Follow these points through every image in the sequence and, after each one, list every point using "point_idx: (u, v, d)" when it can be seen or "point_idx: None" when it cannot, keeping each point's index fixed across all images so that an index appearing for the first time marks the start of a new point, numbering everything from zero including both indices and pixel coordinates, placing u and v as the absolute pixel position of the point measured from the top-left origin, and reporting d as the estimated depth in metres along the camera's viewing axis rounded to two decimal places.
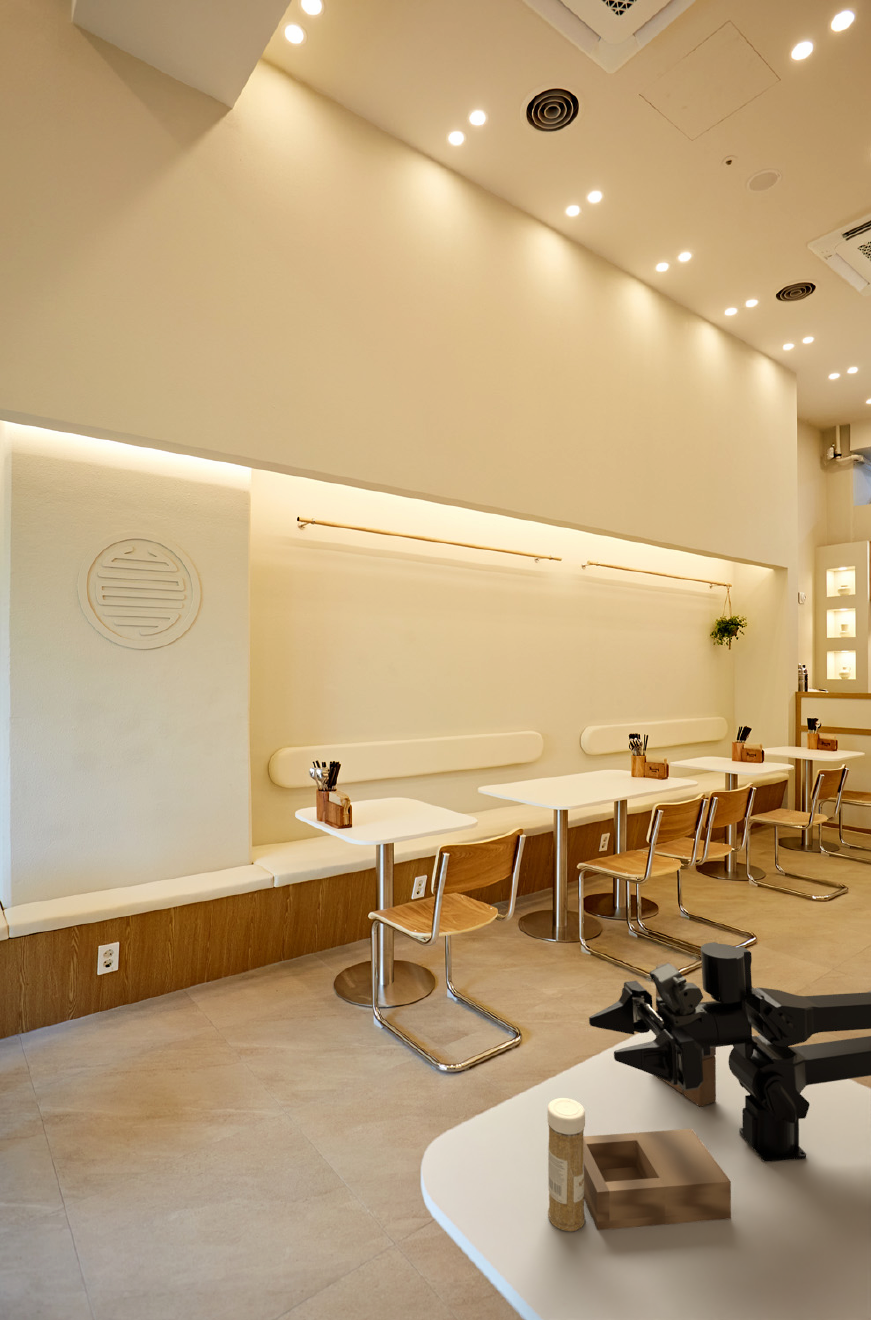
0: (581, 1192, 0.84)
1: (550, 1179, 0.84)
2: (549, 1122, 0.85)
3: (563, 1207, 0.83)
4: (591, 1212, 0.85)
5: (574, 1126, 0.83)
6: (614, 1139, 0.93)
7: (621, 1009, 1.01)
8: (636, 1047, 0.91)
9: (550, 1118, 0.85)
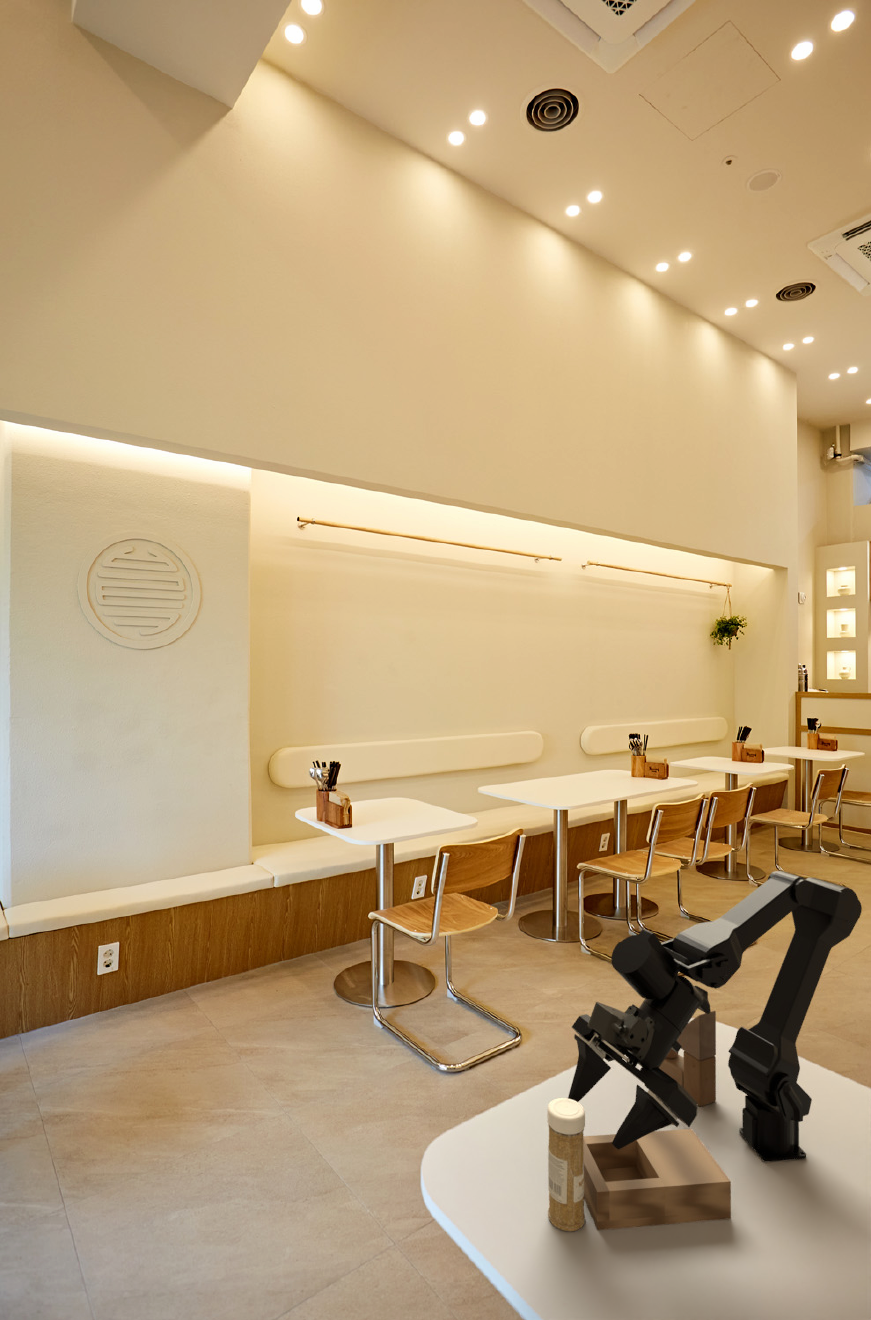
0: (581, 1192, 0.84)
1: (550, 1179, 0.84)
2: (549, 1122, 0.85)
3: (563, 1207, 0.83)
4: (591, 1212, 0.85)
5: (574, 1126, 0.83)
6: None
7: (586, 1064, 0.92)
8: (626, 1123, 0.82)
9: (550, 1118, 0.85)
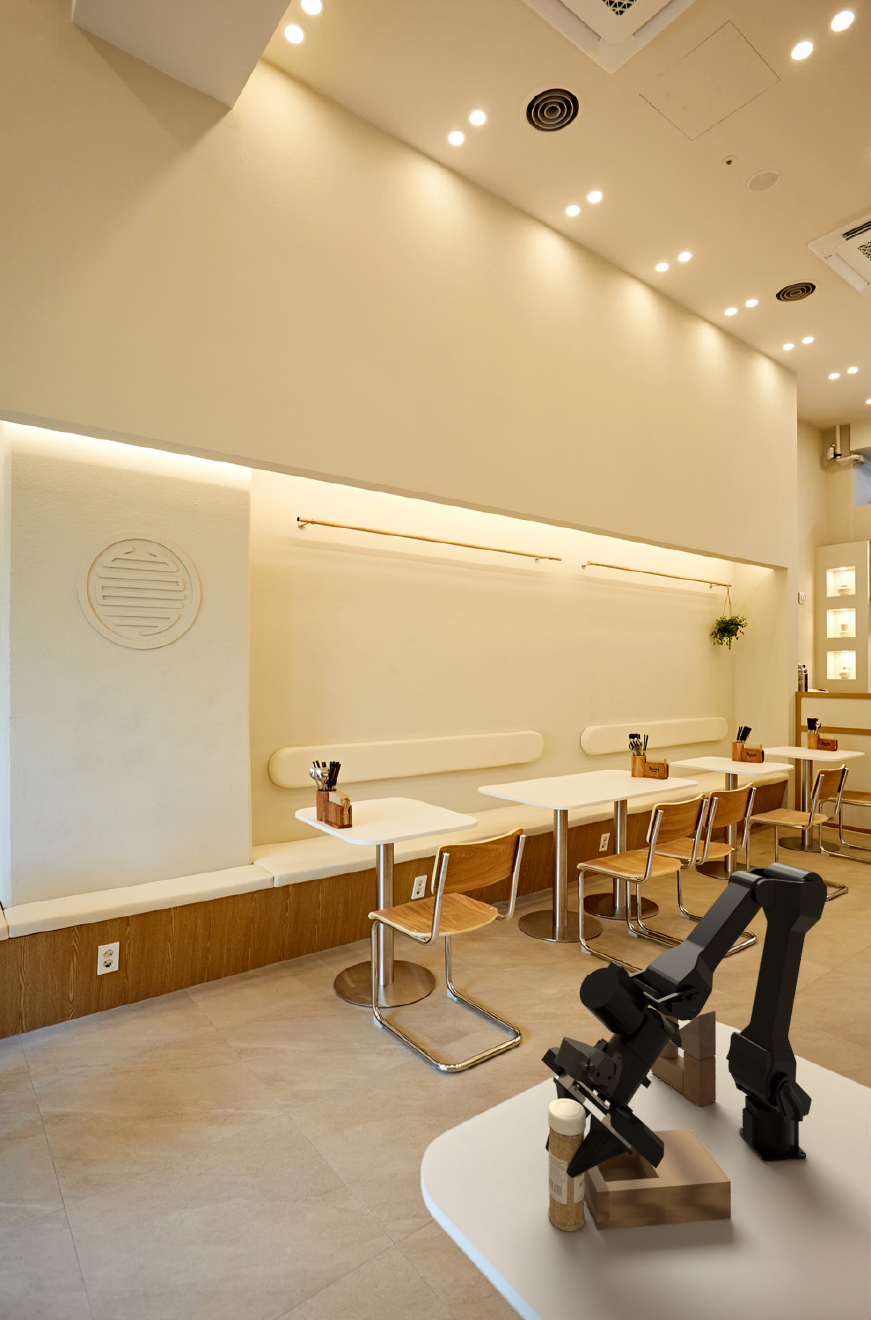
0: (581, 1192, 0.83)
1: (550, 1179, 0.84)
2: (550, 1123, 0.84)
3: (563, 1207, 0.83)
4: (591, 1212, 0.85)
5: (575, 1127, 0.83)
6: None
7: None
8: (580, 1152, 0.82)
9: (551, 1119, 0.84)
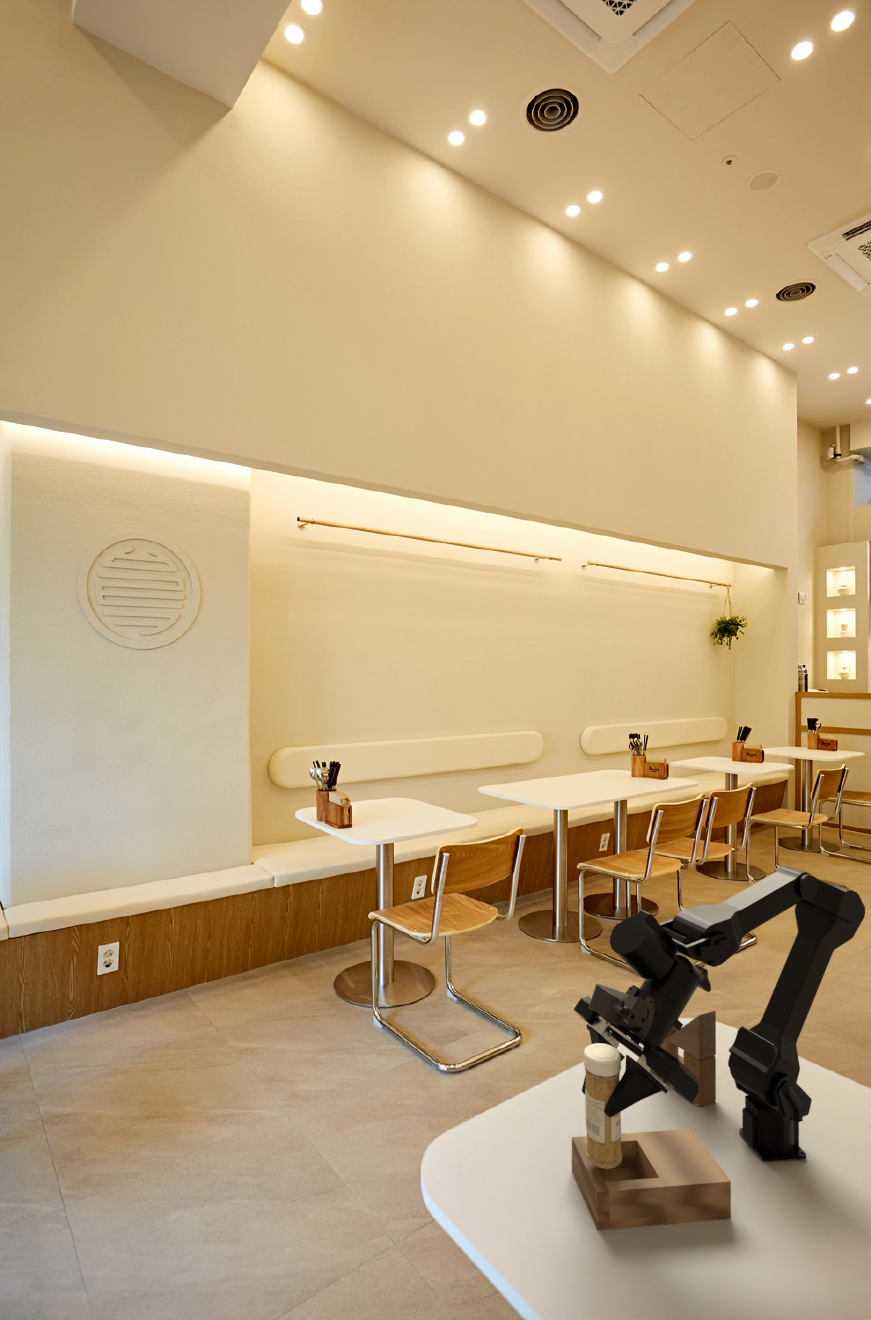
0: (618, 1132, 0.86)
1: (588, 1120, 0.87)
2: (586, 1066, 0.87)
3: (601, 1146, 0.86)
4: (591, 1212, 0.85)
5: (611, 1069, 0.86)
6: None
7: None
8: (617, 1092, 0.85)
9: (587, 1062, 0.87)
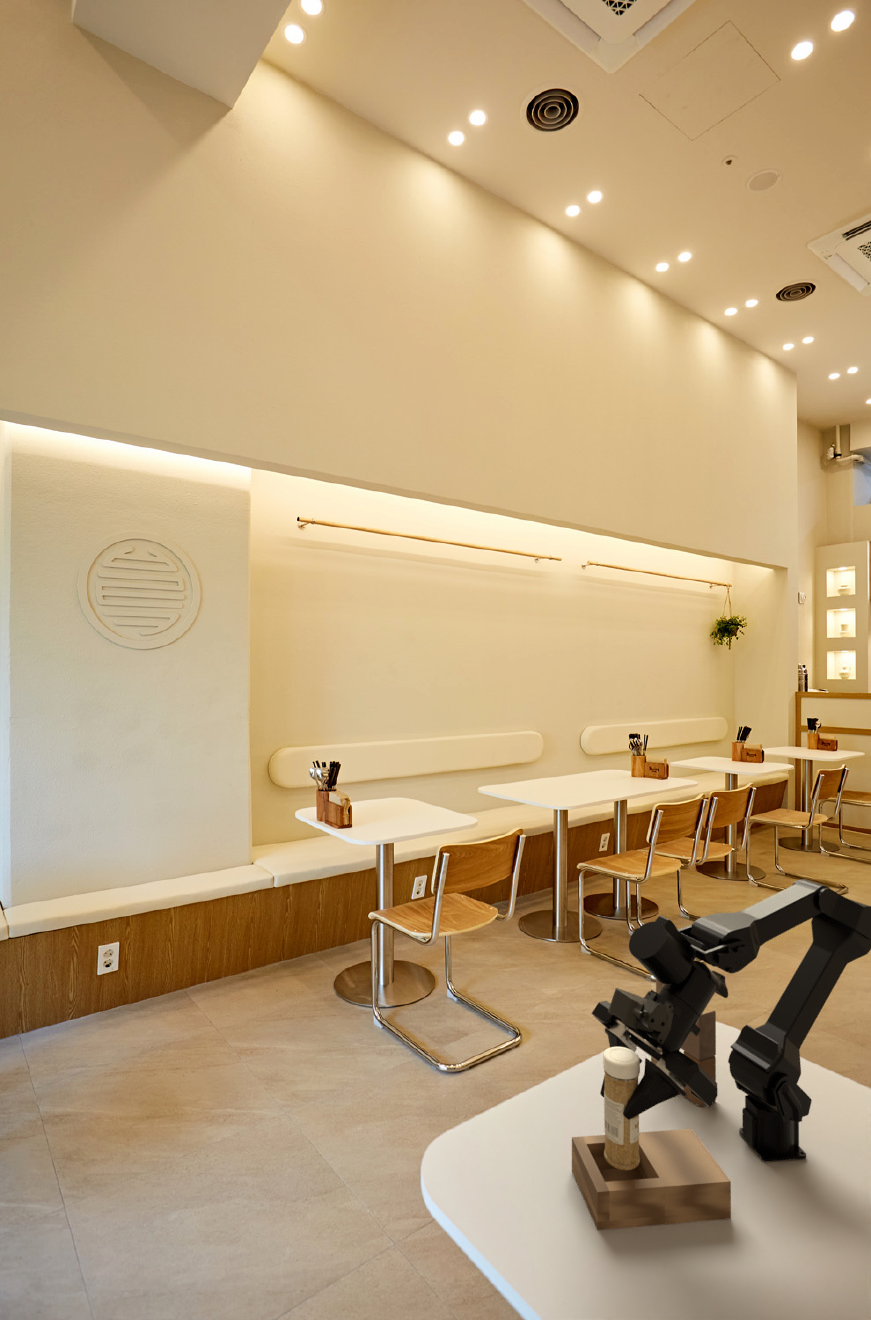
0: (637, 1134, 0.88)
1: (606, 1122, 0.88)
2: (605, 1068, 0.89)
3: (619, 1148, 0.87)
4: (591, 1212, 0.85)
5: (630, 1072, 0.87)
6: None
7: None
8: (636, 1094, 0.86)
9: (606, 1064, 0.88)
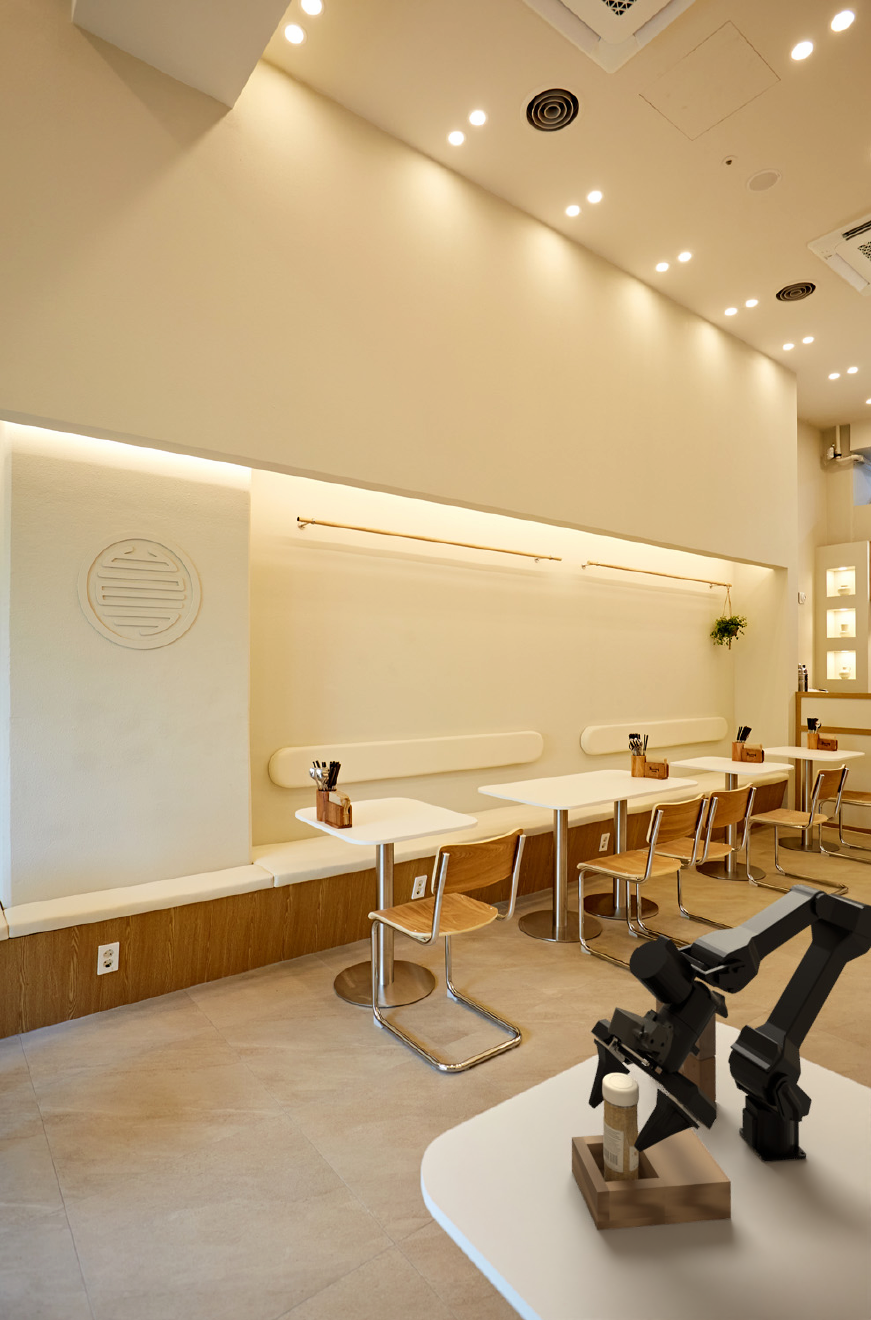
0: (636, 1161, 0.87)
1: (606, 1149, 0.88)
2: (605, 1095, 0.89)
3: (619, 1176, 0.87)
4: (591, 1212, 0.85)
5: (630, 1099, 0.87)
6: None
7: (606, 1068, 0.94)
8: (648, 1126, 0.84)
9: (606, 1091, 0.88)
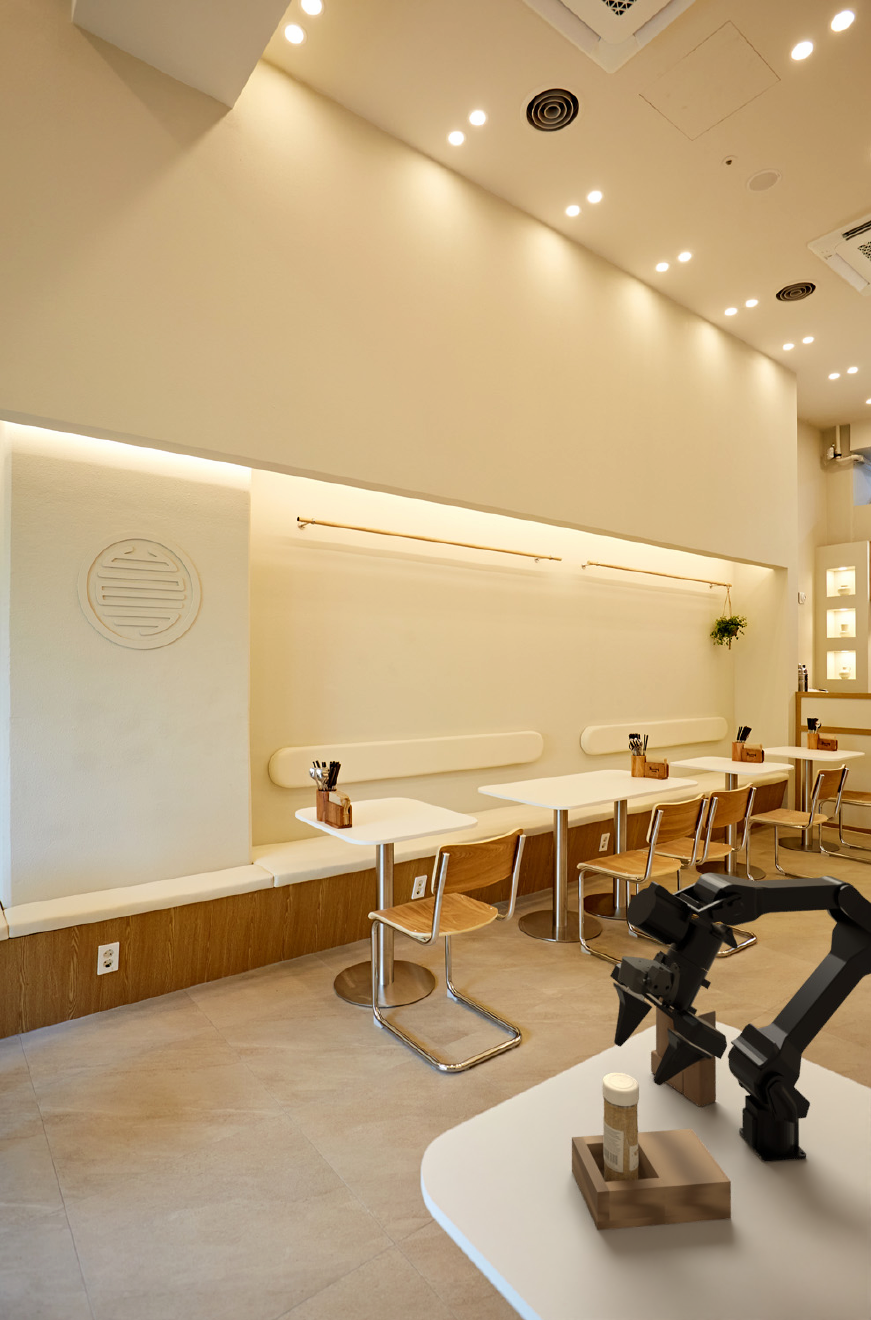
0: (636, 1161, 0.88)
1: (606, 1149, 0.88)
2: (605, 1095, 0.89)
3: (619, 1176, 0.87)
4: (591, 1212, 0.85)
5: (630, 1098, 0.87)
6: None
7: (627, 1008, 1.00)
8: (663, 1062, 0.90)
9: (606, 1091, 0.88)
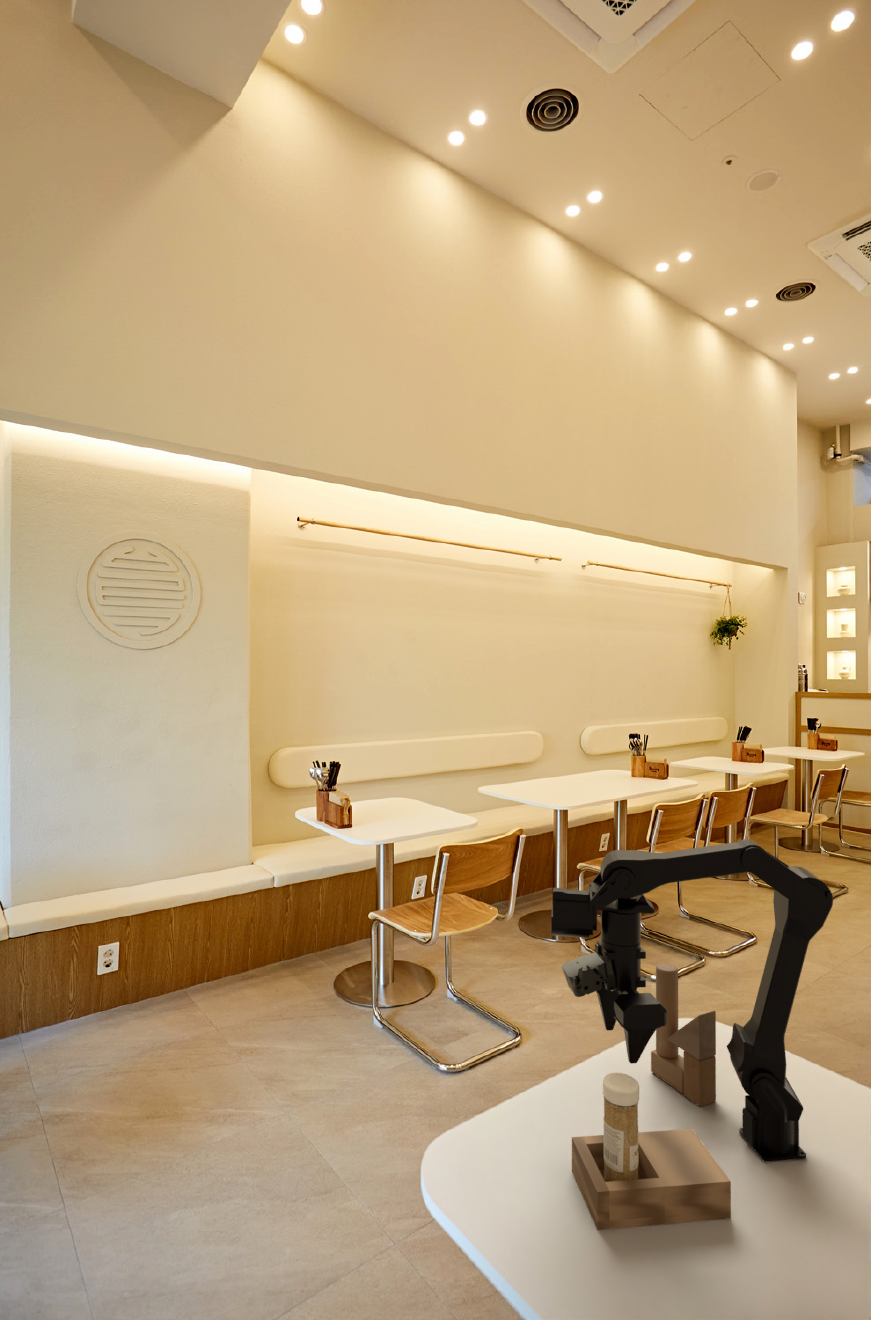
0: (636, 1161, 0.88)
1: (606, 1149, 0.88)
2: (605, 1095, 0.89)
3: (619, 1176, 0.87)
4: (591, 1212, 0.85)
5: (630, 1098, 0.87)
6: None
7: (602, 996, 1.07)
8: (627, 1044, 0.97)
9: (606, 1091, 0.88)
